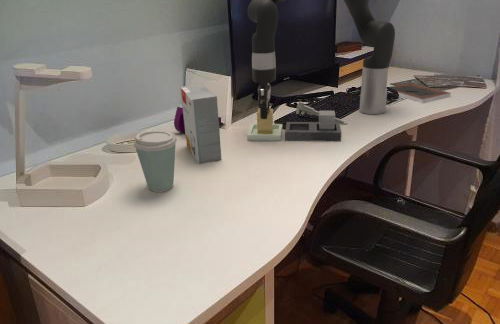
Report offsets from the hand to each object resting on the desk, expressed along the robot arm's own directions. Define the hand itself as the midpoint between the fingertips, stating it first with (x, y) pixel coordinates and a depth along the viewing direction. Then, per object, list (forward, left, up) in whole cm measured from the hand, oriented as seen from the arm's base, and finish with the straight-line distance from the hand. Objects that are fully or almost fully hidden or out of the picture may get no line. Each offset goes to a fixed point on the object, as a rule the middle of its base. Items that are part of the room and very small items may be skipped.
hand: (265, 114), depth 139 cm
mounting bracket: (+23, -5, -8) cm, 25 cm away
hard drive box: (+18, +16, -8) cm, 25 cm away
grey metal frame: (-16, 0, -7) cm, 17 cm away
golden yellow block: (0, 0, -7) cm, 7 cm away
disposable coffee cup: (+24, +39, -8) cm, 47 cm away
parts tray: (0, 0, -7) cm, 7 cm away
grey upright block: (-20, 0, -7) cm, 22 cm away
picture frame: (-61, -51, -8) cm, 80 cm away
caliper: (-19, -16, -8) cm, 26 cm away
